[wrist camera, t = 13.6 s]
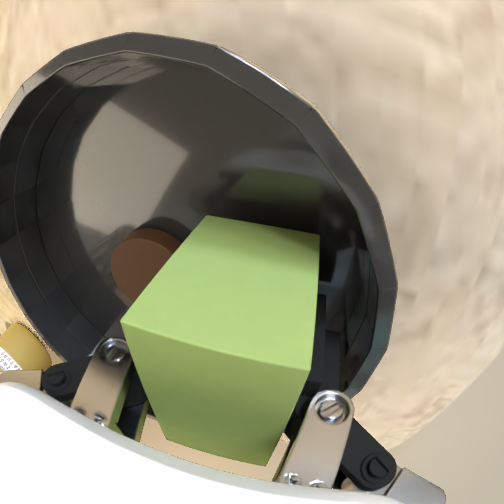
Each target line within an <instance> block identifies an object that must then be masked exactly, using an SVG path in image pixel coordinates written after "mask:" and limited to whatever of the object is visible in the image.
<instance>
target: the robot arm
mask: <svg viewBox="0 0 504 504" xmlns="http://www.w3.org/2000/svg"><path fill="white" fill-rule="evenodd" d="M325 326H326V295H324V294H318V293H317V306H316V319H315V331H314V342H313V352H312V362H311V370H310V372H309V375H308V377H307V380H306V382H305V384H304V387H303V389H302V391H301V394H300V396H299V398H298V401H297V403H296V405H295V407H294V410H293V412H292V414H291V416H290V418H289V420H288V423H287V425H286V427H285V432H284V433H285V435H286V436H287V437H288V438H289V439H290V442H289V444H288V447H287V449H286V451H285V453H284V456H283V458H282V460H281V462H280V464H279V467H278V469H277V471H276V473H275V475H274V477H273V479H272V481H266V480H261V479H256V478H251V477H245V476H241V475H237V474H233V473H229V472H225V471H221V470H217V469H213V468H210V467H206V466H203V465H200V464H196V463H193V462H190V461H187V460H184V459H181V458H178V457H175V456H172V455H169V454H167V453H164V452H161V451H159V450H156V449H154V448H151V447H149V446H146V445H144V444H141V443H139V442H140V438H141V434H142V430H143V426H144V422H145V419H146V415H147V411H148V407H149V404H150V402H149V400H148V397H147V395H146V393H145V390H144V388H143V385H142V383H141V380H140V377H139V375H138V372H137V370H136V367H135V364H134V361H133V359H132V356H131V353H130V350H129V347H128V344H127V341H126V338H123V337H117V336H115V337H109V338H107V339H105V340H103V341H102V342H101V343H100V344H99V345H98V347H97V348H96V350H95V352H94V354H93V355H91V356H87V357H83V358H79V359H76V360H72V361H68V362H64V363H60V364H56V365H53V366H51V367H50V368H48V369H47V370H46V371H45V372H44V371H43V370H42V369H34V370H7V371H4V372H3V373H1V374H0V504H445V503H446V495H445V493H444V491H443V490H442V489H441V488H440V487H438V486H436V485H434V484H432V483H431V482H429V481H427V480H425V479H424V478H422V477H420V476H418V475H417V474H415V473H413V472H411V471H410V470H408V469H406V468H403V469H401V468H400V467H398V466H397V465H396V462H395V459H394V458H393V457H392V455H391V454H390V453H389V452H388V451H387V450H386V449H385V448H384V447H383V446H382V445H380V444H379V443H378V442H377V441H376V440H375V439H374V438H373V437H372V436H371V435H370V434H369V433H368V432H367V431H366V430H365V429H364V428H363V427H362V426H361V425H360V424H359V423H358V422H357V421H356V420H355V419H354V418H353V416H354V405H353V402H352V401H351V399H350V398H349V397H348V396H347V395H346V394H344V393H342V392H340V391H339V365H340V333H339V332H337V331H331V330H325ZM332 488H333V489H332Z"/></svg>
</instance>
